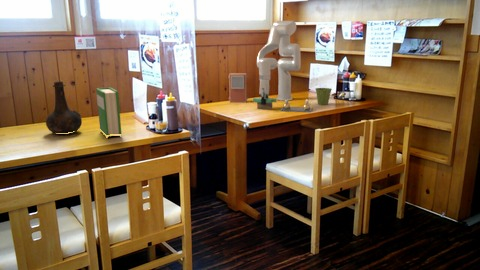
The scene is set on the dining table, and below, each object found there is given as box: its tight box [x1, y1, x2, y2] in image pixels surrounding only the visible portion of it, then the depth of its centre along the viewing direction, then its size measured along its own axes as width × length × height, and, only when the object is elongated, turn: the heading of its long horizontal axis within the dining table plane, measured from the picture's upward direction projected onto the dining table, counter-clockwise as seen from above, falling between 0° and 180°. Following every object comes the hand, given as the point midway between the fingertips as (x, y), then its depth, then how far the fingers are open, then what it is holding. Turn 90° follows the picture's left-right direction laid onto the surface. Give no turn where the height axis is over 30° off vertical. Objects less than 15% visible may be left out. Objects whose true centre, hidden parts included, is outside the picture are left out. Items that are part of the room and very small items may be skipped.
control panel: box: [227, 72, 249, 104], centre depth 316 cm, size 21×7×15 cm
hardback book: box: [95, 87, 122, 135], centre depth 221 cm, size 18×7×24 cm, turn 29°
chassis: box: [279, 99, 314, 113], centre depth 283 cm, size 12×20×7 cm, turn 73°
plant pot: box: [315, 87, 333, 106], centre depth 302 cm, size 12×12×11 cm
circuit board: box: [252, 97, 278, 104], centre depth 288 cm, size 7×16×2 cm, turn 73°
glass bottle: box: [45, 80, 83, 134], centre depth 225 cm, size 18×18×28 cm
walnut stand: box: [256, 102, 273, 110], centre depth 289 cm, size 3×10×5 cm, turn 73°
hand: (264, 103), depth 289 cm, fingers closed on circuit board, 7 cm apart
